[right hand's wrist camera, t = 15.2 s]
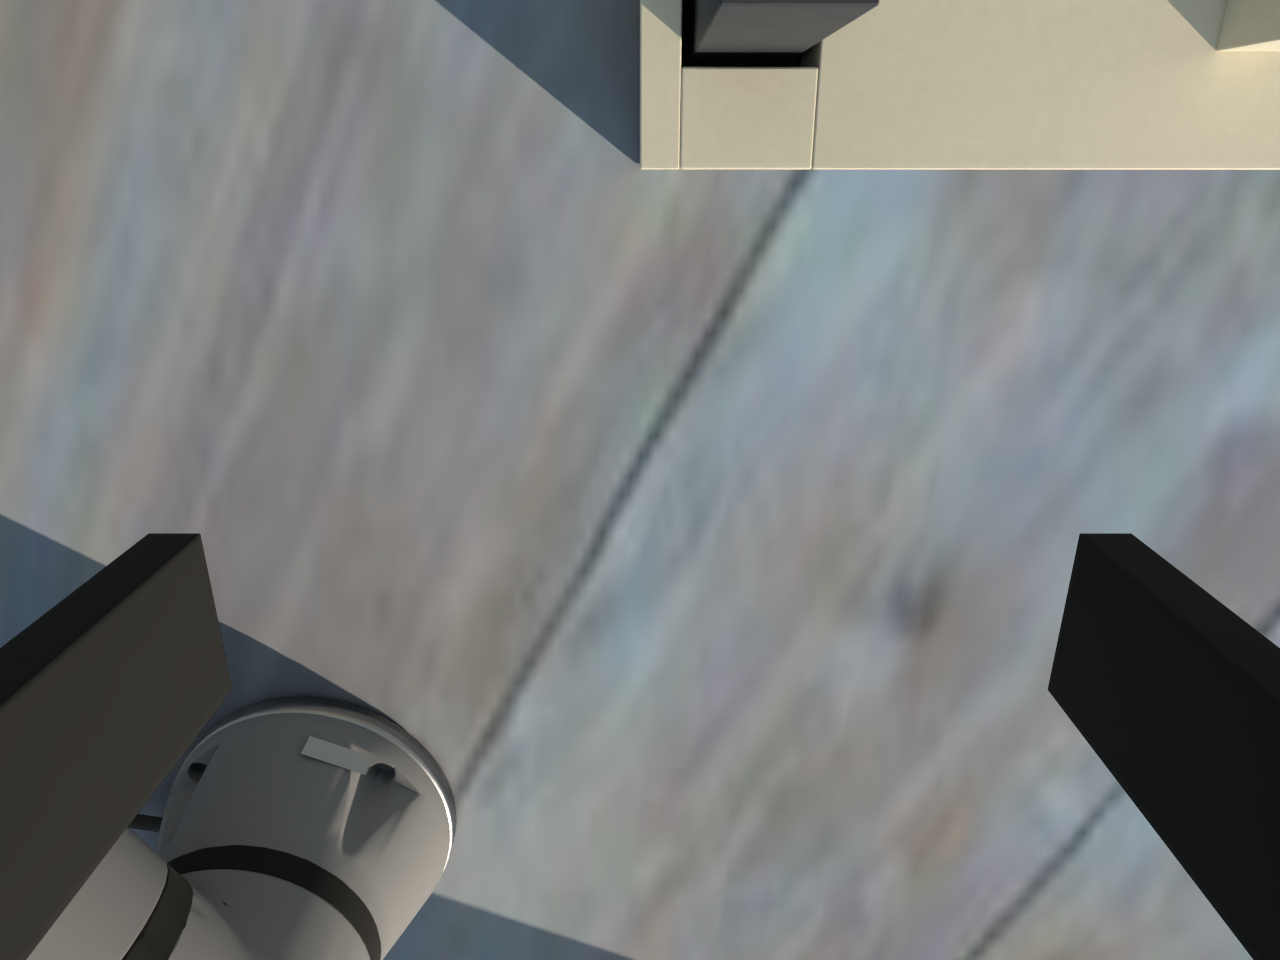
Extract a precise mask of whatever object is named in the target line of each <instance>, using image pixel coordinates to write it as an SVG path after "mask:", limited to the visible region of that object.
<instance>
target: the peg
mask: <svg viewBox="0 0 1280 960" xmlns="http://www.w3.org/2000/svg"><path fill="white" fill-rule="evenodd" d="M878 4H879V0H690V30H689V62H788V61H789V60H791V59H793V58H794V57H796V56H797V55H799V54H801V53H802V52H804V51H806V50H807V49H809V48H810V47H812V46H814V45H815V44H817V43H818V42H820V41H822V40H823V39H825V38H826V37H828V36H830V35H831V34H833V33H834V32H836V31H838V30H839V29H841V28H842V27H844V26H846V25H847V24H849V23H850V22H852V21H854V20H855V19H857V18H858V17H860V16H862V15H863V14H865V13H866V12H868V11H870V10H871V9H873V8H875V7H876V6H878Z"/></svg>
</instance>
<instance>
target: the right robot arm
mask: <svg viewBox="0 0 1280 960" xmlns="http://www.w3.org/2000/svg"><path fill="white" fill-rule="evenodd" d="M231 691H232V686H231V681H230V676H229V672H228V667H227V662H226V657H225V652H224V647H223V642H222V638H221V633H220V628H219V623H218V618H217V613H216V608H215V604H214V599H213V594H212V589H211V584H210V579H209V574H208V569H207V565H206V560H205V555H204V550H203V545H202V540H201V535H200V534H148V535H146V536H145V537H144V538H143V539H141V540H140V541H139V542H137V543H136V544H135V545H133V546H132V547H131V548H130V549H128V550H127V551H126V552H124V553H123V554H122V555H121V556H119V557H118V558H117V559H115V560H114V561H113V562H111V563H110V564H109V565H108V566H106V567H105V568H104V569H102V570H101V571H100V572H98V573H97V574H96V575H95V576H93V577H92V578H91V579H89V580H88V581H87V582H86V583H84V584H83V585H82V586H80V587H79V588H78V589H76V590H75V591H74V592H73V593H71V594H70V595H69V596H67V597H66V598H65V599H64V600H62V601H61V602H60V603H58V604H57V605H56V606H54V607H53V608H52V609H51V610H49V611H48V612H47V613H45V614H44V615H43V616H41V617H40V618H39V619H38V620H36V621H35V622H34V623H32V624H31V625H30V626H29V627H27V628H26V629H25V630H23V631H22V632H21V633H19V634H18V635H17V636H16V637H14V638H13V639H12V640H10V641H9V642H8V643H7V644H5V645H4V646H3V647H1V648H0V960H383V958H384V957H385V956H386V954H387V953H388V952H389V950H390V949H391V948H392V946H393V945H394V944H395V942H396V941H397V940H398V938H399V937H400V936H401V934H402V933H403V932H404V930H405V929H406V928H407V926H408V925H409V924H410V922H411V921H412V920H413V918H414V917H415V915H416V914H417V913H418V911H419V910H420V908H421V907H422V906H423V904H424V903H425V902H426V901H427V899H428V898H429V896H430V895H431V894H432V892H433V891H434V889H435V887H436V886H437V884H438V882H439V880H440V877H441V875H442V873H443V871H444V869H445V867H446V864H447V861H448V858H449V855H450V851H451V848H452V844H453V840H454V835H455V830H456V808H455V802H454V798H453V794H452V791H451V788H450V785H449V783H448V781H447V778H446V777H445V775H444V773H443V771H442V769H441V768H440V766H439V765H438V763H437V762H436V760H435V759H434V758H433V757H432V755H431V754H430V753H429V752H428V751H427V749H426V748H425V747H424V746H423V745H421V744H420V743H419V742H418V741H417V740H416V739H415V738H414V737H413V736H411V735H410V734H409V733H408V732H406V731H405V730H404V729H402V728H401V727H399V726H398V725H396V724H395V723H393V722H391V721H389V720H388V719H386V718H384V717H382V716H380V715H378V714H376V713H374V712H371V711H369V710H366V709H364V708H361V707H358V706H355V705H352V704H348V703H345V702H340V701H335V700H330V699H323V698H313V697H290V698H280V699H273V700H268V701H264V702H260V703H257V704H253V705H250V706H247V707H245V708H243V709H240V710H238V711H236V712H234V713H232V714H231V715H229V716H227V717H225V718H224V719H222V720H221V721H220V722H218V723H217V724H216V725H214V726H213V727H212V728H211V729H210V730H209V731H208V732H207V733H206V734H205V735H204V736H203V737H202V739H201V740H200V741H199V742H198V744H197V745H196V746H195V748H194V749H193V750H192V752H191V753H190V754H189V756H188V757H187V759H186V760H185V762H184V763H183V765H182V767H181V769H180V771H179V773H178V775H177V777H176V779H175V781H174V783H173V785H172V787H171V790H170V793H169V796H168V799H167V803H166V807H165V811H164V815H163V818H161V817H154V816H147V815H140V814H138V813H139V811H140V810H141V809H142V807H143V806H144V805H145V803H146V802H147V801H148V799H149V798H150V797H151V796H152V794H153V793H154V792H155V790H156V789H157V788H158V786H159V785H160V784H161V782H162V781H163V780H164V778H165V777H166V776H167V775H168V773H169V772H170V771H171V769H172V768H173V767H174V765H175V764H176V763H177V761H178V760H179V759H180V757H181V756H182V755H183V754H184V752H185V751H186V750H187V748H188V747H189V746H190V744H191V743H192V742H193V740H194V739H195V738H196V736H197V735H198V734H199V733H200V731H201V730H202V729H203V727H204V726H205V725H206V723H207V722H208V721H209V719H210V718H211V717H212V715H213V714H214V713H215V712H216V710H217V709H218V708H219V706H220V705H221V704H222V702H223V701H224V700H225V698H226V697H227V696H228V694H229V693H230V692H231ZM1048 691H1049V692H1050V693H1051V694H1052V696H1053V697H1054V698H1055V700H1056V701H1057V702H1058V704H1059V705H1060V706H1061V708H1062V709H1063V710H1064V712H1065V713H1066V714H1067V715H1068V717H1069V718H1070V719H1071V721H1072V722H1073V723H1074V725H1075V726H1076V727H1077V729H1078V730H1079V731H1080V733H1081V734H1082V735H1083V736H1084V738H1085V739H1086V740H1087V742H1088V743H1089V744H1090V746H1091V747H1092V748H1093V750H1094V751H1095V752H1096V754H1097V755H1098V756H1099V757H1100V759H1101V760H1102V761H1103V763H1104V764H1105V765H1106V767H1107V768H1108V769H1109V771H1110V772H1111V773H1112V775H1113V776H1114V777H1115V778H1116V780H1117V781H1118V782H1119V784H1120V785H1121V786H1122V788H1123V789H1124V790H1125V792H1126V793H1127V794H1128V796H1129V797H1130V798H1131V799H1132V801H1133V802H1134V803H1135V805H1136V806H1137V807H1138V809H1139V810H1140V811H1141V813H1142V814H1143V815H1144V817H1145V818H1146V819H1147V820H1148V822H1149V823H1150V824H1151V826H1152V827H1153V828H1154V830H1155V831H1156V832H1157V834H1158V835H1159V836H1160V838H1161V839H1162V840H1163V841H1164V843H1165V844H1166V845H1167V847H1168V848H1169V849H1170V851H1171V852H1172V853H1173V855H1174V856H1175V857H1176V859H1177V860H1178V861H1179V862H1180V864H1181V865H1182V866H1183V868H1184V869H1185V870H1186V872H1187V873H1188V874H1189V876H1190V877H1191V878H1192V880H1193V881H1194V882H1195V883H1196V885H1197V886H1198V887H1199V889H1200V890H1201V891H1202V893H1203V894H1204V895H1205V897H1206V898H1207V899H1208V901H1209V902H1210V903H1211V904H1212V906H1213V907H1214V908H1215V910H1216V911H1217V912H1218V914H1219V915H1220V916H1221V918H1222V919H1223V920H1224V922H1225V923H1226V924H1227V925H1228V927H1229V928H1230V929H1231V931H1232V932H1233V933H1234V935H1235V936H1236V937H1237V939H1238V940H1239V941H1240V943H1241V944H1242V945H1243V946H1244V948H1245V949H1246V950H1247V952H1248V953H1249V954H1250V956H1251V957H1252V958H1253V960H1280V648H1279V647H1277V646H1276V645H1275V644H1273V643H1272V642H1271V641H1270V640H1268V639H1267V638H1266V637H1264V636H1263V635H1262V634H1261V633H1259V632H1258V631H1257V630H1255V629H1254V628H1253V627H1251V626H1250V625H1249V624H1248V623H1246V622H1245V621H1244V620H1242V619H1241V618H1240V617H1239V616H1237V615H1236V614H1235V613H1233V612H1232V611H1231V610H1229V609H1228V608H1227V607H1226V606H1224V605H1223V604H1222V603H1220V602H1219V601H1218V600H1216V599H1215V598H1214V597H1213V596H1211V595H1210V594H1209V593H1207V592H1206V591H1205V590H1204V589H1202V588H1201V587H1200V586H1198V585H1197V584H1196V583H1194V582H1193V581H1192V580H1191V579H1189V578H1188V577H1187V576H1185V575H1184V574H1183V573H1182V572H1180V571H1179V570H1178V569H1176V568H1175V567H1174V566H1172V565H1171V564H1170V563H1169V562H1167V561H1166V560H1165V559H1163V558H1162V557H1161V556H1159V555H1158V554H1157V553H1156V552H1154V551H1153V550H1152V549H1150V548H1149V547H1148V546H1147V545H1145V544H1144V543H1143V542H1141V541H1140V540H1139V539H1137V538H1136V537H1135V536H1134V535H1132V534H1080V535H1079V540H1078V545H1077V550H1076V555H1075V560H1074V565H1073V569H1072V574H1071V579H1070V584H1069V589H1068V594H1067V599H1066V604H1065V608H1064V613H1063V618H1062V623H1061V628H1060V633H1059V638H1058V642H1057V647H1056V652H1055V657H1054V662H1053V667H1052V672H1051V676H1050V681H1049V686H1048ZM129 828H134V829H141V830H148V831H155V832H159V835H158V839H157V843H156V847H155V850H154V851H153V850H152V849H151V848H150V847H149V846H148V845H146V844H145V843H144V842H143V841H142V840H141V839H140V838H139V837H138V836H136V835H135V834H134V833H133V832H132V831H131V830H130V829H129Z"/></svg>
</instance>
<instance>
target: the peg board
mask: <svg viewBox="0 0 1280 960" xmlns="http://www.w3.org/2000/svg"><path fill="white" fill-rule="evenodd" d="M681 46H682V0H640V169H679V168H680V169H980V170H1280V0H879V4H878V6H876V7H875V8H873V9H871V10H870V11H868V12H866V13H865V14H863V15H862V16H860V17H858V18H857V19H855V20H854V21H852V22H850V23H849V24H847V25H846V26H844V27H842V28H841V29H839V30H838V31H836V32H834V33H833V34H831V35H830V36H828V37H826V38H825V39H823V40H822V41H820V42H818V43H817V44H815V45H814V46H812V47H810V48H809V49H807V50H806V51H804V52H802V53H801V67H682V69H681Z"/></svg>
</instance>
